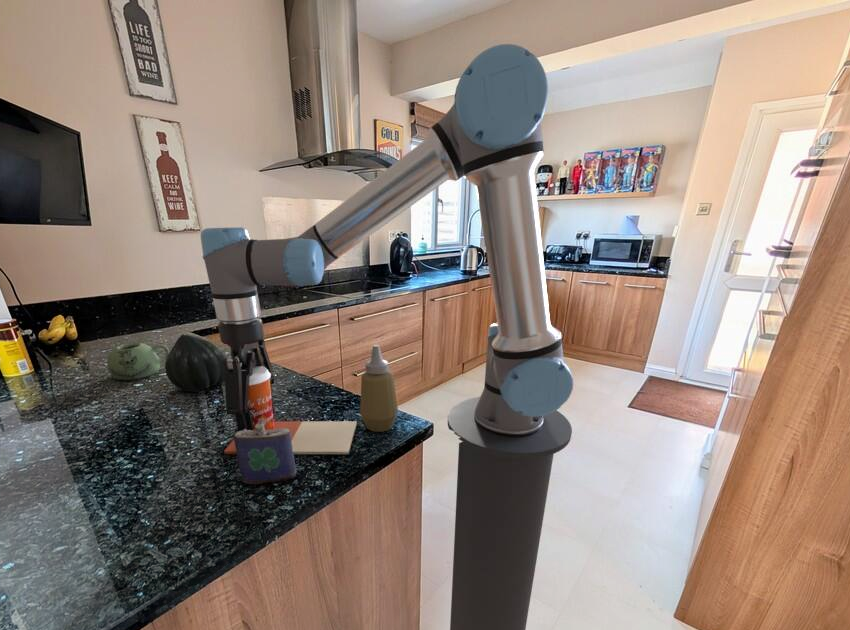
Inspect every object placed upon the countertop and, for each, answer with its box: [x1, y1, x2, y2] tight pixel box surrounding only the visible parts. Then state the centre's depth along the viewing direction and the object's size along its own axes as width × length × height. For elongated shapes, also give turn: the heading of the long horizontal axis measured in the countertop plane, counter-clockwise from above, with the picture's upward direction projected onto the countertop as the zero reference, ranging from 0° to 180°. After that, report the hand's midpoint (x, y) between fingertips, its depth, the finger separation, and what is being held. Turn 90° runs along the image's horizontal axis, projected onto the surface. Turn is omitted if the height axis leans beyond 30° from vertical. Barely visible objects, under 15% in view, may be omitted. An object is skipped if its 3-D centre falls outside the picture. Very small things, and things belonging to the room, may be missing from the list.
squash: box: [164, 333, 228, 393], centre depth 104 cm, size 14×15×15 cm
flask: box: [233, 422, 297, 484], centre depth 66 cm, size 9×3×11 cm, turn 96°
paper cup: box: [245, 366, 275, 430], centre depth 77 cm, size 8×8×14 cm
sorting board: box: [223, 420, 358, 455], centre depth 80 cm, size 24×12×1 cm, turn 88°
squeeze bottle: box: [359, 344, 399, 433], centre depth 80 cm, size 8×8×18 cm
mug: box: [106, 342, 170, 381], centre depth 114 cm, size 16×13×9 cm
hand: (259, 426), depth 79 cm, fingers open, 11 cm apart
